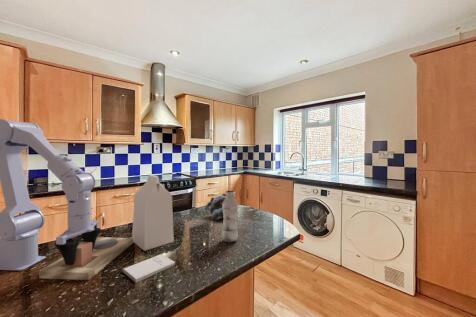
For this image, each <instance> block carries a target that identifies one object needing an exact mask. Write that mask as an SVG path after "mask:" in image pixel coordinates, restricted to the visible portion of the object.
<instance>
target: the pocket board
mask: <svg viewBox="0 0 476 317" xmlns="http://www.w3.org/2000/svg"><path fill="white" fill-rule="evenodd" d="M133 243H134V242H133V238H132V237H110V236H109V237H108V236H107V237H104V236H103V237H99V236H97V239H96V241H95V245H94V249H93V252H92V261H91V262H90V263H88V264H87V265H86V266H84V267H83V268H79V267H67V265H66V264H65V261H64V259H63V256H62V257H61V258H58V259H57V260H56V261H54V262H52V263H51V264H49V265H47V266H45V267H43V268H42V269H40V270H38V278H39V279H49V280H51V279H53V280H55V279H56V280H78V281H90V280H91V279H92V278H93V277H94V276H95V275H96V274H98V273H99V272H100V271H102V269H104V268H105V267H106V266H107V265H109V264H110V263H111V262H112V261H113V260H115V259H116V258H117V257H119V256H120V254H122V253H123V252H125V250H127V249H128V248H129V247H131V245H133Z"/></svg>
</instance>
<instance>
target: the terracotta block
mask: <svg viewBox="0 0 476 317" xmlns="http://www.w3.org/2000/svg"><path fill="white" fill-rule="evenodd" d="M91 261H92V242H83V241H79V244H78V246H77V250H76V257H75V263H74V265H67V267H79V268H83V267H84V266H86V265H87V264H88V263H90V262H91Z"/></svg>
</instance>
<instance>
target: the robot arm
mask: <svg viewBox="0 0 476 317" xmlns="http://www.w3.org/2000/svg"><path fill="white" fill-rule="evenodd" d="M29 147H30V148H32V150H34V152H36V153H37V154H38V155H39V156H41V157H42V158H43V159H44V160H45V161H46V162H47V165H46V167H47V169H48V170H49V171H50V172H51V173H52V174H53V175H55V177H56V178H57V179H59V181H60V182H61V183H62V184H61V189H62V191H63V192H64V194H65V199H66V201H67V202H66V203H67V229H66V230H65V231H63V232H62V233H61V234H59V235H58V236H55V242H54V246H55V248H56V249H57V250H58V251H59V252H60V254H61V256H62V257H63V259H64V261H65V264H66V265H74V263H75V257H76V250H77V246H78V244H79V242H80V241H78V240H77V241H76V240H75V238H77V237H78V236H80V235H81V237H82V242H92V252H93V249H94V245H95V241H96V239H97V237H99V235H100V233H101V231H102V230H101V227H99V226H100V222H99V220H92V193H91V192H92V190H93V189H94V188H95V186H96V178H95V177H94V175H93V174H92V173H91V172H85V171H84V170H83V169H81V168H80V167H79V166H78V165H76V164H75V162H74V161H73V158H72V157H70V156H68V155H64V154H59V152H58V151H57V150H56V148H55V147H54V146H53V145H52V144H51V142H49V140H48V139H47V138H46V137H45V136H44V130H43V129H42V128H41V127H40V126H39V125H38V124H37V123H34V122H24V121H17V120H9V119H5V118H0V187H1V192H2V196H3V199H4V204H5V208H3V209H2V210H1V211H0V271H20V272H21V271H24V270H25V269H28V268H29V267H31V266H33V265H35V264H37V263H39V262H41V261H42V260H45V259H46V258H47V257H46V256H43V255H39V236H38V235H39V234H38V233H39V232H40V231H41V228H43V226H44V225H45V221H46V219H45V215H44V214H43V212H42V211H41V208H40V205H39V204H36V203H34V202H32V201H31V200H30V199H31V198H30V195H29V190H28V186H27V181H26V177H25V173H24V167H23V162H22V159H21V153H22V152H23V151H24V150H26V149H28V148H29ZM74 240H75V241H74Z"/></svg>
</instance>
